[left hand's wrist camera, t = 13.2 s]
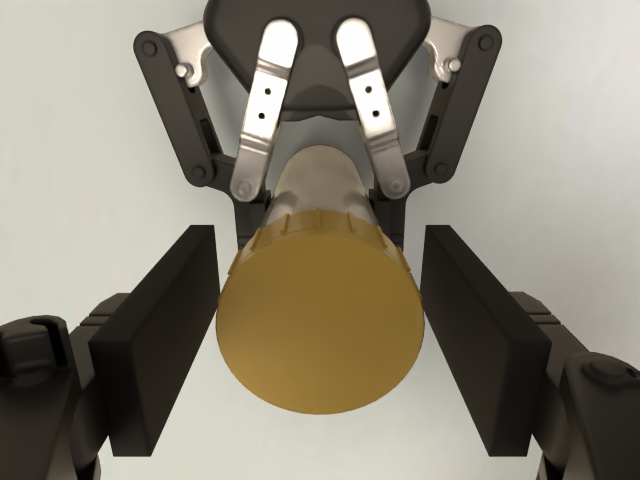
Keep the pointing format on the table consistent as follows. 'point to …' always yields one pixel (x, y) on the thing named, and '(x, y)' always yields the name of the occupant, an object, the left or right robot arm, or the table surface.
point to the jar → (319, 186)
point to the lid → (320, 313)
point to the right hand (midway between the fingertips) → (321, 270)
